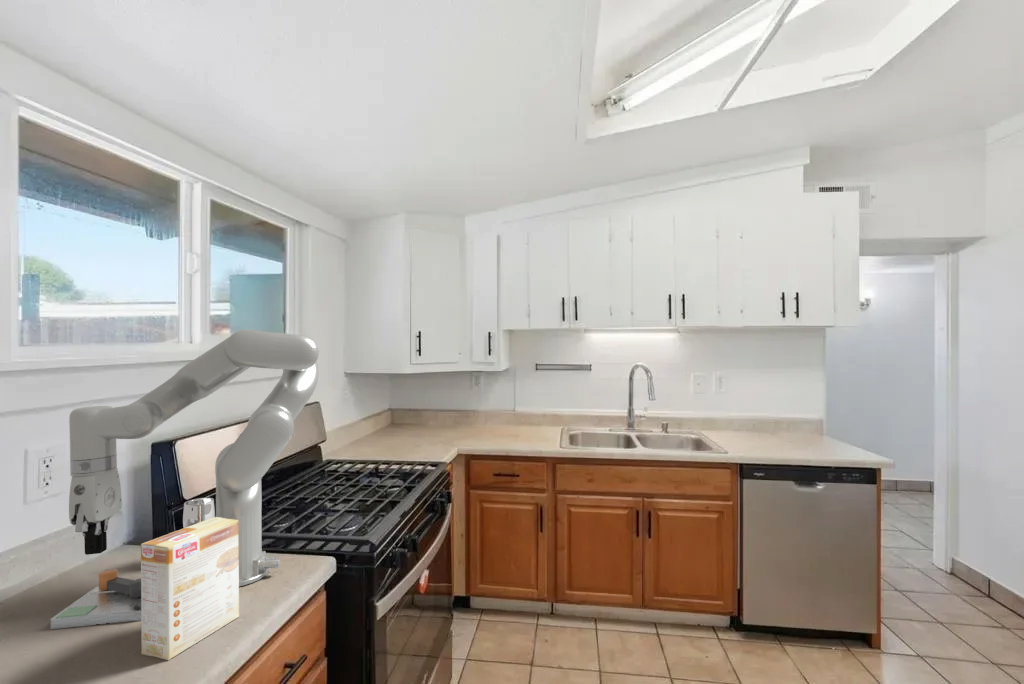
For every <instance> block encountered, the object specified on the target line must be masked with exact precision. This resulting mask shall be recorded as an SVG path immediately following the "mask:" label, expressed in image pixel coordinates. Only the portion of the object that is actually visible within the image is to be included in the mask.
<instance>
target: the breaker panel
mask: <svg viewBox="0 0 1024 684" xmlns="http://www.w3.org/2000/svg"><path fill="white" fill-rule="evenodd" d="M140 601H141V596H139V597H130V594H127V593H123V592H118V591H113V590H108V589H106V590H99V585H96V586H95V587H93V589H90V590H89V591H87V592H86V593H85V594H84V595H82V596H81V597H80V598H78V599H76V600H75V601H74V602H72V603H71V604H70V605H68V606H67V607H65V608H64V609H63V610H61V611H59V612H58V613H57V614H56V615H54V616H53V617H51V618H50V630H58V629H59V630H60V629H68V628H78V627H88V626H89V627H90V626H97V625H96V624H100V625H107V624H106V623H110V624H117V623H119V624H120V623H127V622H137V621H140V622H141V609H140V610H138V611H136V610H134V606H135V605H136V604H137V603H138V602H140Z"/></svg>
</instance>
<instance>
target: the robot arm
mask: <svg viewBox="0 0 1024 684" xmlns="http://www.w3.org/2000/svg"><path fill="white" fill-rule="evenodd" d="M319 354H320V350H319V347H318V345H317V343H316V342H315V341H314V340H313V339H312V338H310V337H308V336H306V335H301V334H293V333H291V334H290V333H281V332H271V331H264V330H263V331H262V330H254V329H240V330H237V331H235V332H234V333H232V334H231V335H230V336H229V337H227V338H225V339H224V340H223V341H220V342H219V343H218V344H216V345H215V346H213V347H212V348H210V349H208V350H207V351H205V352H204V353H202V354H201V355H199V356H196V358H195V359H193V360H191V361H190V362H189V363H186V364H185V365H183V366H182V367H181V368H180V369H179V370H177V372H176V373H175V374H174V375H172V376H171V377H170V378H168V379H167V380H166V381H164V382H163V383H162V384H160V385H158V386H157V387H156V388H154V389H153V390H151V391H150V392H148V393H146V394H145V395H143V396H142V397H140V398H139V399H137V400H134V401H133V402H132V403H130V404H127V405H122V406H116V407H112V406H108V405H95V406H86V407H78V408H75V409H72V411H71V412H70V413H69V417H68V419H69V420H68V421H69V422H68V423H69V459H70V460H69V463H70V465H69V466H70V467H69V469H70V477H71V480H70V486H69V496H68V497H69V498H68V519H69V523H70V524H71V525H72V526H75V529H74V532H75V533H82V537H83V538H84V541H83V542H84V554H85V555H86V556H89V555H94V554H95V555H97V554H98V555H99V554H102V553H103V552H105V551H107V549H108V546H107V545H108V544H107V542H108V541H107V540H108V539H107V531H108V529H109V520H110V519H111V518H112V517H113V516H114V515H115V514H117V513H119V512H120V511H121V510H122V507H123V504H122V502H123V501H122V487H121V479H120V474H119V470H118V460H117V459H118V457H117V456H118V455H117V440H137V439H142V438H144V437H148V436H149V435H150V434H152V432H154V430H156V428H158V427H159V426H161V425H162V424H164V423H165V422H166V421H168V420H169V419H171V418H172V417H175V415H177V414H178V413H180V412H182V410H185V409H186V408H187V407H189V406H190V405H192V404H194V403H195V402H197V401H200V400H202V399H204V398H206V397H209V396H210V395H211V394H214V393H215V392H216V391H218V390H219V389H220V388H222V387H224V386H225V385H226V384H228V383H229V382H230V381H232V380H234V379H235V378H236V377H238V376H239V375H241V374H242V373H244V372H245V371H247V370H248V369H250V368H259V369H270V370H271V369H273V370H282V374H281V377H280V378H279V381H278V382H277V383H276V384H275V386H274V387H273V389H272V391H270V393H269V394H268V395H267V396H266V398H265V399H264V400H263V402H262V403H261V404H260V406H258V408H257V409H256V410H255V411H253V413H252V414H251V415H250V417H249V419H248V421H247V425H246V426H245V428H244V429H243V430H242V432H241V433H240V434H239V435H238V437H237V438H236V439H235V441H234V442H233V443H231V444H227V445H226V446H225V447H224V448H222V449H221V450H220V452H219V454H218V455H217V457H216V460H215V468H214V470H215V472H214V473H215V517H221V518H226V519H234V520H238V552H239V587H243V586H247V585H250V584H252V583H256V582H257V581H259V580H261V579H263V578H264V577H266V575H268V573H269V572H270V571H269V570H270V569H276V568H280V566H281V559H280V558H278V556H267V555H266V550H263V549H262V547H263V546H262V545H263V544H262V542H263V541H262V540H263V539H262V538H263V537H262V532H263V531H262V527H263V526H262V509H263V508H262V505H263V503H262V499H263V497H262V495H263V494H262V492H263V491H262V479H263V477H264V476H265V475H266V473H267V472H268V471H269V470H270V468H271V467H272V465H273V464H274V463H275V462H276V460H277V459H278V457H279V456H280V454H281V453H282V451H284V449H285V448H286V446H288V444H289V442H290V440H291V438H292V436H293V434H294V430H295V423H294V422H295V420H296V419H297V417H299V416H298V415H300V413H301V411H302V410H303V409H304V407H305V406H306V405H307V403H308V401H309V400H310V399H311V397H312V396H313V394H314V392H315V390H316V387H317V384H318V379H319V365H318V359H319Z"/></svg>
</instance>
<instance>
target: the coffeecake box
mask: <svg viewBox="0 0 1024 684" xmlns="http://www.w3.org/2000/svg"><path fill="white" fill-rule="evenodd" d="M140 578H141V620H140V622H141V631H140V632H141V639H140V640H141V655H144V656H148V657H155V658H158V659H162V660H164V661H171V660H172V658H175V657H176V656H178V655H180V654H181V653H182V652H184V651H186V650H188V649H189V648H190V647H193V646H194V645H196V644H197V643H199V642H200V641H202V640H204V639H206V638H207V637H208V636H210V635H212V634H214V633H215V632H217V631H218V630H220V629H221V628H223V627H225V626H226V625H228V624H230V623H231V622H233V621H235V620H236V619H238V618H240V586H239V552H238V520H234V519H226V518H221V517H216V516H215V517H213V518H210V519H207V520H204V521H202V522H199V523H197V524H194V525H191V526H189V527H186V528H181V529H179V530H175V531H172V532H169V533H168V534H165V535H162V536H159V537H156V538H154V539H151V540H148V541H145V542H143V543H141V544H140Z"/></svg>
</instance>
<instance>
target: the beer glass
mask: <svg viewBox="0 0 1024 684" xmlns="http://www.w3.org/2000/svg"><path fill="white" fill-rule="evenodd" d="M213 517H216V507H215V499H214V498H213V497H200V498H194V499H189V500H187V501H185V502H184V503H183V514H182V525H183V526H182V527H183V528H186V527H189V526H191V525H194V524H197V523H199V522H202V521H204V520H207V519H210V518H213ZM183 528H182V529H183Z"/></svg>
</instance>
